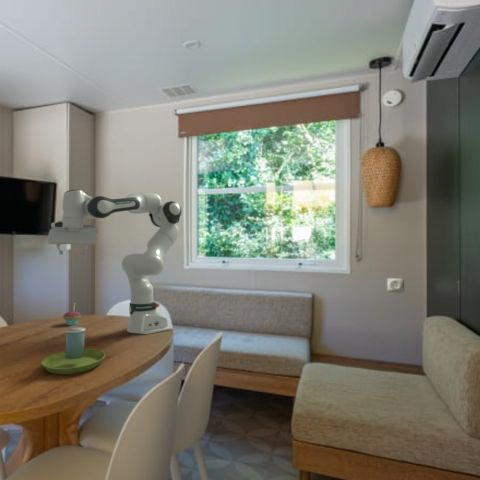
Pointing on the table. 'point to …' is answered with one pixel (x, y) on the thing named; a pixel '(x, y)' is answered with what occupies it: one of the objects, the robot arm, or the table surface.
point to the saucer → (73, 362)
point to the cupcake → (72, 317)
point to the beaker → (75, 343)
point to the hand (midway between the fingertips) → (72, 254)
